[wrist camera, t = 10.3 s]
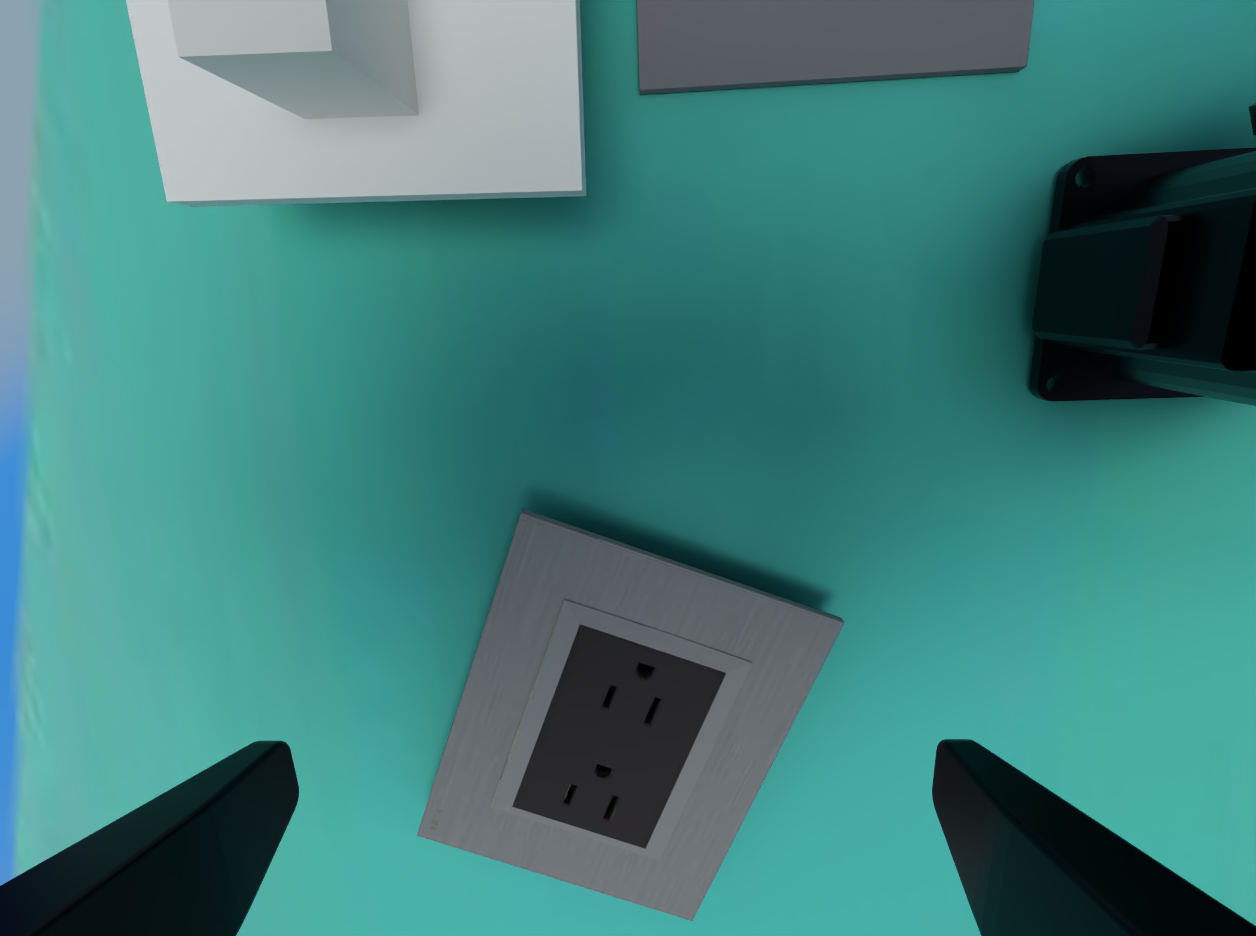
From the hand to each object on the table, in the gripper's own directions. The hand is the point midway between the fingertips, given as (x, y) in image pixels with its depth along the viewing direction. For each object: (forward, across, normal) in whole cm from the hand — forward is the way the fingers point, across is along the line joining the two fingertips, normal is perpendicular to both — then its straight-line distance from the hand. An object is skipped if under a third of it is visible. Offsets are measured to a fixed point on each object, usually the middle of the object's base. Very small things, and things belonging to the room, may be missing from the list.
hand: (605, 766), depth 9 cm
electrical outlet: (+13, +1, +8) cm, 15 cm away
